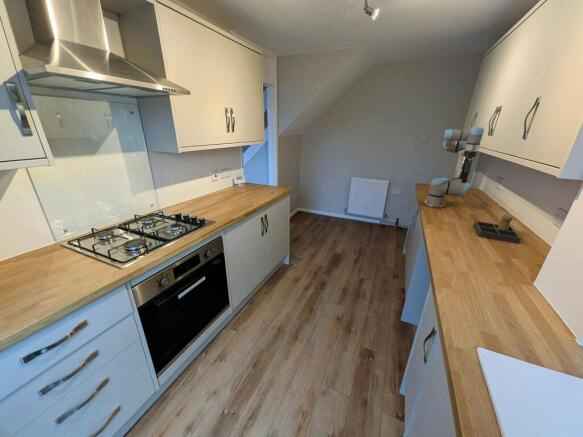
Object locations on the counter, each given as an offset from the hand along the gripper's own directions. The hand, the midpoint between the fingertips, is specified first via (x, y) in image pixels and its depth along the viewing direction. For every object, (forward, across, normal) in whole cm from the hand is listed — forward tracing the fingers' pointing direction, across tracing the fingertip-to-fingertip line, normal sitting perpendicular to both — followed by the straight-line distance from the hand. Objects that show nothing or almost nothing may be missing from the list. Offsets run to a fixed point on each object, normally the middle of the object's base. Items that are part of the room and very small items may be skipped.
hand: (462, 180), depth 173 cm
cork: (+26, +22, +25) cm, 43 cm away
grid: (+27, +27, +21) cm, 43 cm away
